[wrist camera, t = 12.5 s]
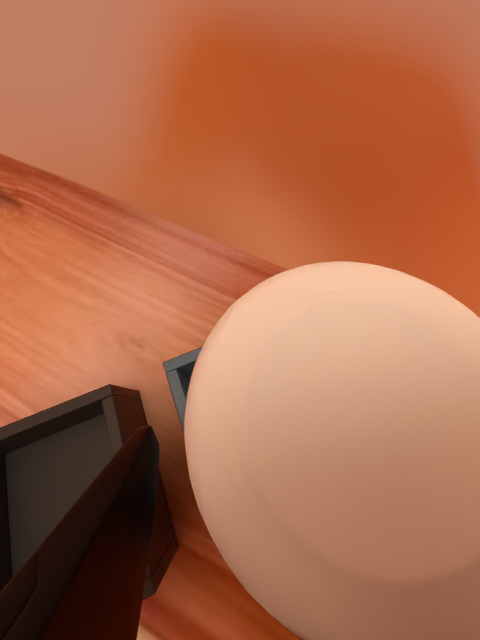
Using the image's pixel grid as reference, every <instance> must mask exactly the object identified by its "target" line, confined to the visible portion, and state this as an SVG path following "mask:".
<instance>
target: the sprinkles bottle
mask: <svg viewBox="0 0 480 640" xmlns="http://www.w3.org/2000/svg"><path fill="white" fill-rule="evenodd" d="M184 438H185V449H186V457H187V464H188V471H189V478H190V481H191V485H192V488H193V492H194V495H195V499H196V502H197V506H198V509H199V511H200V513H201V516H202V518H203V520H204V522H205V525H206V527H207V529H208V531H209V533H210V535H211V537H212V539H213V541H214V543H215V545H216V547H217V548H218V550H219V552H220V554H221V556H222V558H223V559H224V560H225V562H226V563H227V565H228V566H229V568H230V569H231V571H232V572H233V573H234V575H235V576H236V578H237V579H238V581H239V582H240V583H241V584H242V585H243V587H244V588H245V589H246V590H247V591H248V593H249V594H250V595H251V596H252V597H253V599H254V600H255V601H257V602H258V603H259V604H260V605H261V606H262V607H263V608H264V609H265V610H266V611H267V612H268V613H269V614H270V615H271V616H272V617H274V618H275V619H276V620H277V621H279V622H280V623H281V624H282V625H283V626H285V627H286V628H287V629H288V630H289V631H291V632H293V633H294V634H296V635H297V636H299V637H300V638H302V639H303V640H480V318H479V317H478V316H477V315H476V314H475V313H473V312H472V311H471V310H469V309H468V308H467V307H466V306H465V305H463V304H462V303H460V302H459V301H458V300H456V299H455V298H453V297H452V296H450V295H449V294H447V293H446V292H444V291H442V290H441V289H439V288H437V287H435V286H433V285H431V284H429V283H427V282H425V281H423V280H421V279H418V278H416V277H413V276H410V275H408V274H405V273H403V272H400V271H397V270H393V269H390V268H386V267H382V266H378V265H373V264H367V263H359V262H342V261H341V262H340V261H337V262H324V263H323V262H322V263H314V264H309V265H304V266H300V267H297V268H294V269H290V270H287V271H284V272H281V273H279V274H277V275H275V276H272V277H270V278H268V279H266V280H265V281H263V282H261V283H260V284H258V285H256V286H255V287H253V288H252V289H251V290H249V291H248V292H247V293H246V294H244V295H243V296H242V297H240V298H239V299H238V300H237V301H235V302H234V303H233V304H232V305H231V306H230V307H229V308H228V310H227V311H226V312H225V313H224V314H223V316H222V317H221V318H220V319H219V321H218V322H217V323H216V325H215V326H214V328H213V329H212V331H211V332H210V334H209V336H208V337H207V339H206V341H205V343H204V345H203V347H202V349H201V351H200V353H199V356H198V358H197V361H196V363H195V366H194V369H193V373H192V376H191V380H190V384H189V389H188V393H187V401H186V410H185V420H184Z"/></svg>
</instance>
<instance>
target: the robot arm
mask: <svg viewBox="0 0 480 640" xmlns="http://www.w3.org/2000/svg"><path fill="white" fill-rule="evenodd" d="M158 467H159V444H158V441H157V439H156V436H155V434H154V431H153V429H152V427H151V426H144V427H140V428H137V429H136V430H135V431H134V433H133V434H132V435H131V436H130V437H129V439H128V440H127V441H126V442H125V443H124V445H123V446H122V447H121V448H120V449H119V451H118V452H117V453H116V454H115V455H114V457H113V458H112V459H111V460H110V461H109V463H108V464H107V465H106V466H105V467H104V469H103V470H102V471H101V472H100V473H99V475H98V476H97V477H96V478H95V480H94V481H93V482H92V483H91V484H90V486H89V487H88V488H87V489H86V490H85V492H84V493H83V494H82V495H81V496H80V498H79V499H78V500H77V501H76V502H75V504H74V505H73V506H72V507H71V508H70V510H69V511H68V512H67V513H66V514H65V516H64V517H63V518H62V519H61V520H60V522H59V523H58V524H57V525H56V526H55V528H54V529H53V530H52V531H51V533H50V534H49V535H48V536H47V537H46V539H45V540H44V541H43V542H42V543H41V545H40V546H39V547H38V551H35V552H34V553H33V554H32V555H31V556H30V558H29V559H28V560H27V561H26V562H25V564H24V565H23V566H22V567H21V568H20V570H19V571H18V572H17V573H16V574H15V576H14V577H13V578H12V579H11V580H10V581H9V583H8V584H7V585H6V586H5V587H4V588H3V590H2V591H1V592H0V640H136V639H137V632H138V626H139V619H140V612H141V605H142V599H143V592H144V585H145V578H146V571H147V565H148V558H149V551H150V544H151V538H152V531H153V524H154V517H155V511H156V503H157V489H158Z"/></svg>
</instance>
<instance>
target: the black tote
mask: <svg viewBox="0 0 480 640" xmlns="http://www.w3.org/2000/svg"><path fill="white" fill-rule="evenodd" d="M144 426H148V425H147V421H146V417H145V413H144V410H143V406H142V402H141V398H140V394H139V391H136V390H132V389H128V388H123V387H119V386H115V385H111V384H109V385H106V386H104V387H101V388H99V389H96V390H94V391H91V392H89V393H86V394H84V395H81V396H79V397H76V398H74V399H71V400H69V401H66V402H64V403H61V404H59V405H56V406H54V407H51V408H49V409H46V410H44V411H41V412H39V413H36V414H34V415H31V416H29V417H26V418H24V419H21V420H19V421H16V422H14V423H11V424H9V425H6V426H4V427H1V428H0V592H1V591H2V590H3V588H4V587H5V586H6V585H7V584H8V583H9V581H10V580H11V579H12V578H13V577H14V576H15V574H16V573H17V572H18V571H19V570H20V568H21V567H22V566H23V565H24V564H25V562H26V561H27V560H28V559H29V558H30V556H31V555H32V554H33V553H34V552H35V551H38V547H39V546H40V545H41V543H42V542H43V541H44V540H45V539H46V537H47V536H48V535H49V534H50V533H51V531H52V530H53V529H54V528H55V526H56V525H57V524H58V523H59V522H60V520H61V519H62V518H63V517H64V516H65V514H66V513H67V512H68V511H69V510H70V508H71V507H72V506H73V505H74V504H75V502H76V501H77V500H78V499H79V498H80V496H81V495H82V494H83V493H84V492H85V490H86V489H87V488H88V487H89V486H90V484H91V483H92V482H93V481H94V480H95V478H96V477H97V476H98V475H99V473H100V472H101V471H102V470H103V469H104V467H105V466H106V465H107V464H108V463H109V461H110V460H111V459H112V458H113V457H114V455H115V454H116V453H117V452H118V451H119V449H120V448H121V447H122V446H123V445H124V443H125V442H126V441H127V440H128V439H129V437H130V436H131V435H132V434H133V433H134V431H135V430H136V429H137V428H140V427H144ZM178 547H179V546H178V542H177V538H176V534H175V530H174V526H173V523H172V519H171V515H170V511H169V507H168V503H167V499H166V495H165V491H164V487H163V484H162V480H161V476H160V472H159V468H158V489H157V503H156V511H155V517H154V524H153V531H152V538H151V544H150V551H149V558H148V565H147V571H146V578H145V585H144V592H143V599H142V600H144V599H146V598H148V597H150V596H152V595H154V594H155V593H156V591H157V589H158V587H159V585H160V583H161V581H162V579H163V577H164V575H165V573H166V571H167V569H168V567H169V565H170V563H171V561H172V559H173V557H174V555H175V553H176V551H177V549H178Z"/></svg>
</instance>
